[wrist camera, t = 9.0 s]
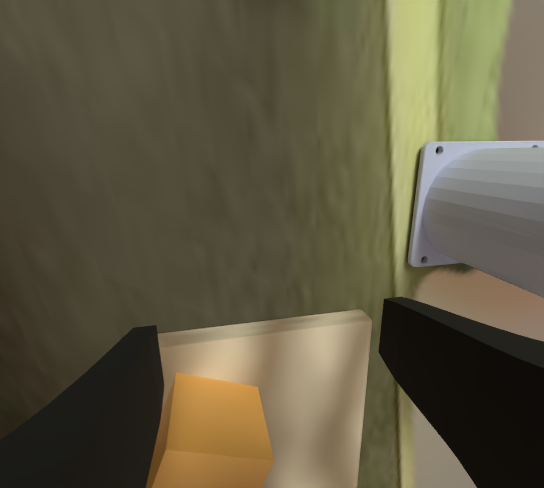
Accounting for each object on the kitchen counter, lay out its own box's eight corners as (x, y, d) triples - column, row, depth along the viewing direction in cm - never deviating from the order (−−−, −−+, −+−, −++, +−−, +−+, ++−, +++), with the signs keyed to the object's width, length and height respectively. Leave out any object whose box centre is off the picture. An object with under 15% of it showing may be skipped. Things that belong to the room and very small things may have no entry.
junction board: (361, 309, 21) (410, 359, 16) (348, 469, 26) (384, 549, 21) (130, 337, 18) (101, 408, 13) (160, 512, 23) (147, 617, 18)
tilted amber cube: (257, 386, 20) (274, 460, 15) (230, 450, 21) (238, 538, 16) (176, 372, 18) (165, 449, 13) (151, 441, 19) (133, 536, 14)
